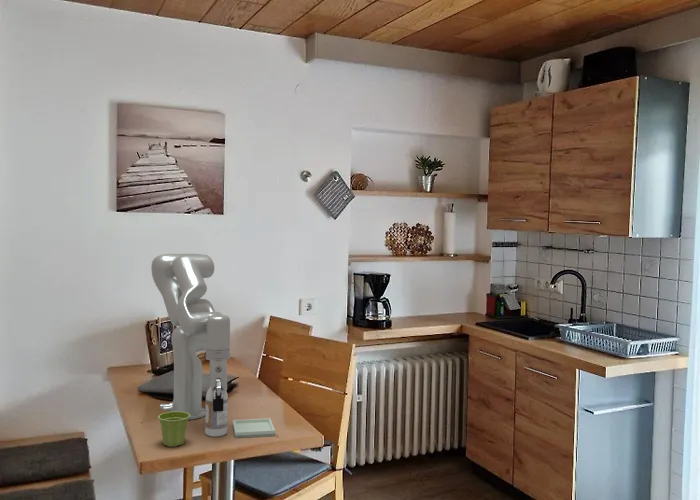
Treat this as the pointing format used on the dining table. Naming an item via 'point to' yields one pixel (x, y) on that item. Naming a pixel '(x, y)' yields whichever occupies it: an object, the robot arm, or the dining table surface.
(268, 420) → the tray
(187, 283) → the robot arm
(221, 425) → the bath foam
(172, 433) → the plant pot
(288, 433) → the dining table surface
